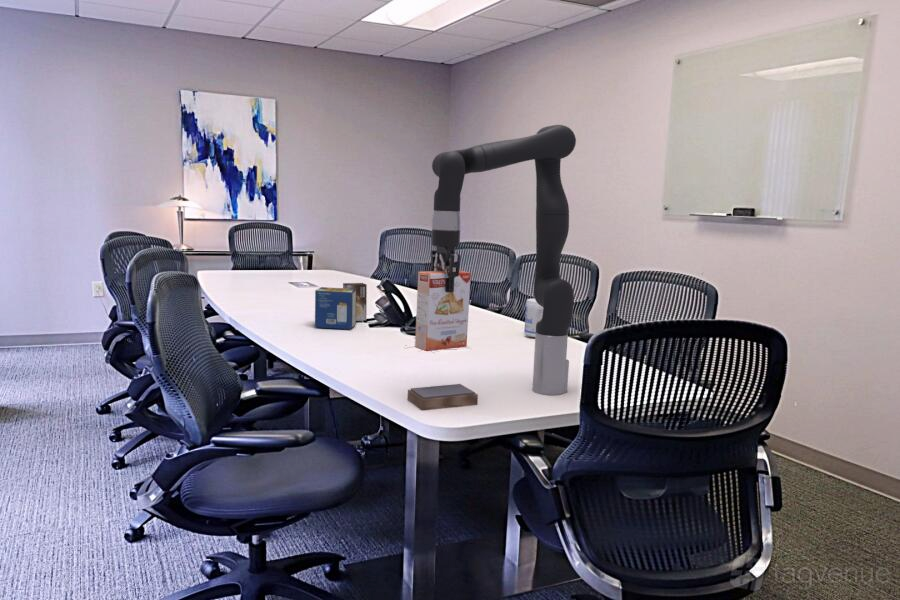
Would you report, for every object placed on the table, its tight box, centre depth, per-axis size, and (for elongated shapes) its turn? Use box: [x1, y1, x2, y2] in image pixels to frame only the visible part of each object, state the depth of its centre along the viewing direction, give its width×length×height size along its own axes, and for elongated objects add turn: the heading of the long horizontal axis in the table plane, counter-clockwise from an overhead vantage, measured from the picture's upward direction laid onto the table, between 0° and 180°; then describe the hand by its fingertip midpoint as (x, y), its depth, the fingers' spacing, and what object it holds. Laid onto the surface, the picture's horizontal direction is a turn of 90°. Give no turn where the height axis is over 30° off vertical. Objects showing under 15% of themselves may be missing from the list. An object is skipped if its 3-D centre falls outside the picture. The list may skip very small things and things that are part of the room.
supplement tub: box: [523, 298, 543, 338], centre depth 280 cm, size 10×10×15 cm
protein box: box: [314, 286, 357, 330], centre depth 284 cm, size 10×15×16 cm
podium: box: [407, 383, 479, 411], centre depth 183 cm, size 16×10×4 cm, turn 116°
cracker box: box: [414, 270, 472, 352], centre depth 184 cm, size 14×6×21 cm, turn 128°
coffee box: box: [342, 282, 368, 322], centre depth 300 cm, size 9×6×16 cm
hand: (443, 290), depth 184 cm, fingers closed on cracker box, 6 cm apart
